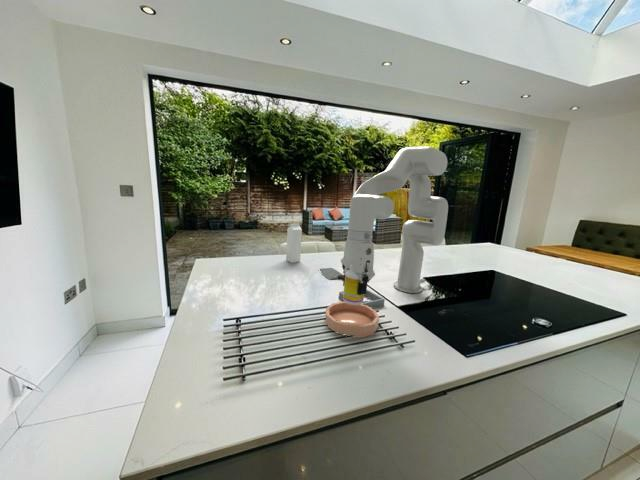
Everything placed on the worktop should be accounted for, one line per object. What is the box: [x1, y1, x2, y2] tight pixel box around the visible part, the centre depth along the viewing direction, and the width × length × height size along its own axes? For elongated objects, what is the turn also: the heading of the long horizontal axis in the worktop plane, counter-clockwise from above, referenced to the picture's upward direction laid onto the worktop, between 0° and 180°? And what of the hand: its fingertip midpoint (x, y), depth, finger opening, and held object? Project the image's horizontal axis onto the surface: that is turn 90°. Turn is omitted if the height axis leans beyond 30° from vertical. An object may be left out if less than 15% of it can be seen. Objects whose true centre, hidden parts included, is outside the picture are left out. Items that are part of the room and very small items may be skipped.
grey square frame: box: [338, 289, 385, 308], centre depth 106 cm, size 13×13×2 cm
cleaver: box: [319, 267, 345, 282], centre depth 131 cm, size 29×10×2 cm, turn 25°
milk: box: [285, 222, 303, 264], centre depth 152 cm, size 6×6×22 cm
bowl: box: [324, 301, 380, 338], centre depth 89 cm, size 17×17×4 cm
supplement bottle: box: [342, 264, 365, 305], centre depth 86 cm, size 7×7×13 cm
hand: (354, 289), depth 87 cm, fingers closed on supplement bottle, 6 cm apart
